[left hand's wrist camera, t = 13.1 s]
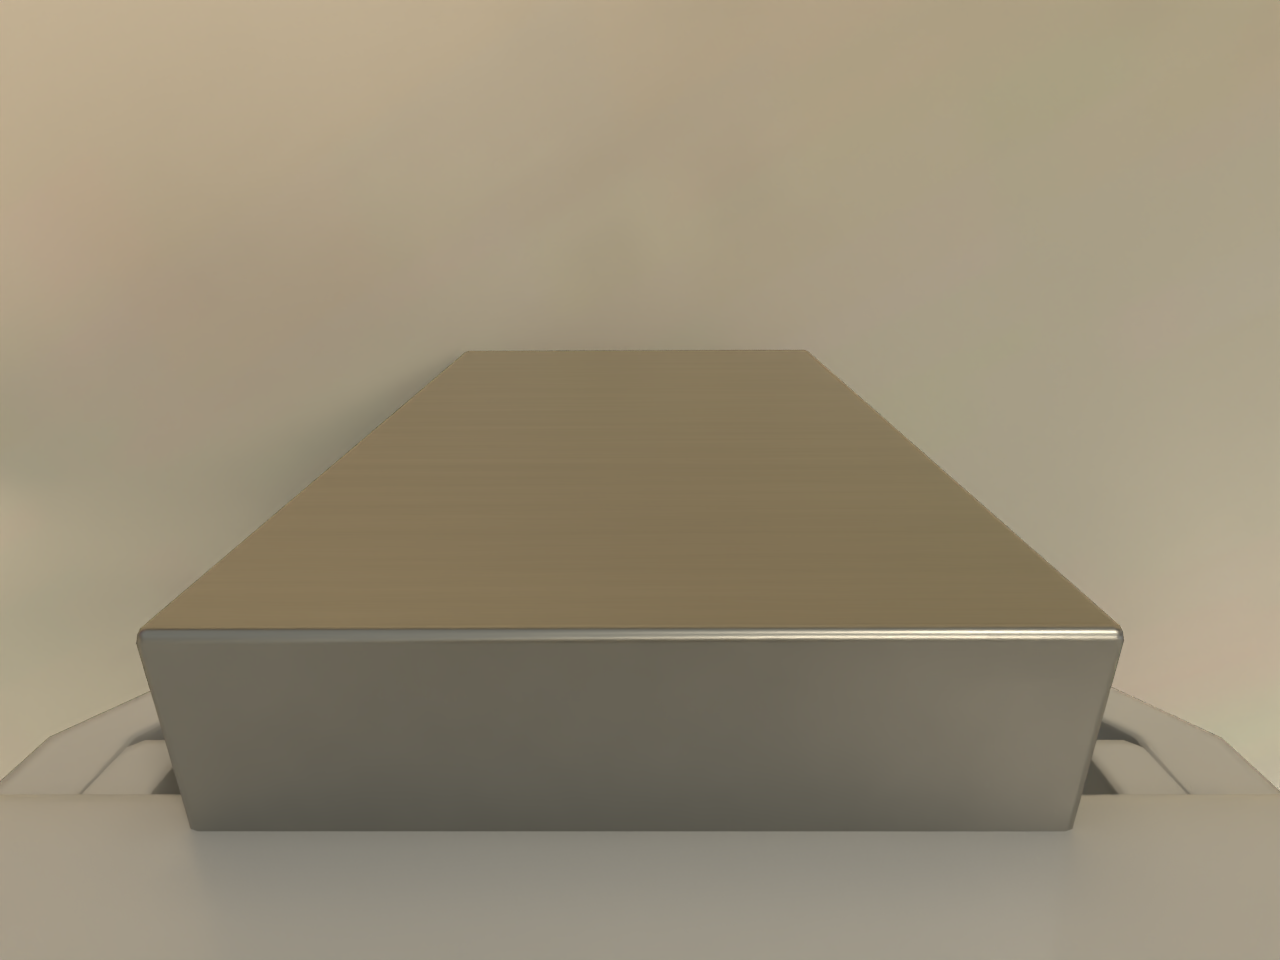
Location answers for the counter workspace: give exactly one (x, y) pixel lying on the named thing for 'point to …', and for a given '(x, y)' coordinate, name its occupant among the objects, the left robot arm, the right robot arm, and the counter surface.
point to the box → (632, 621)
